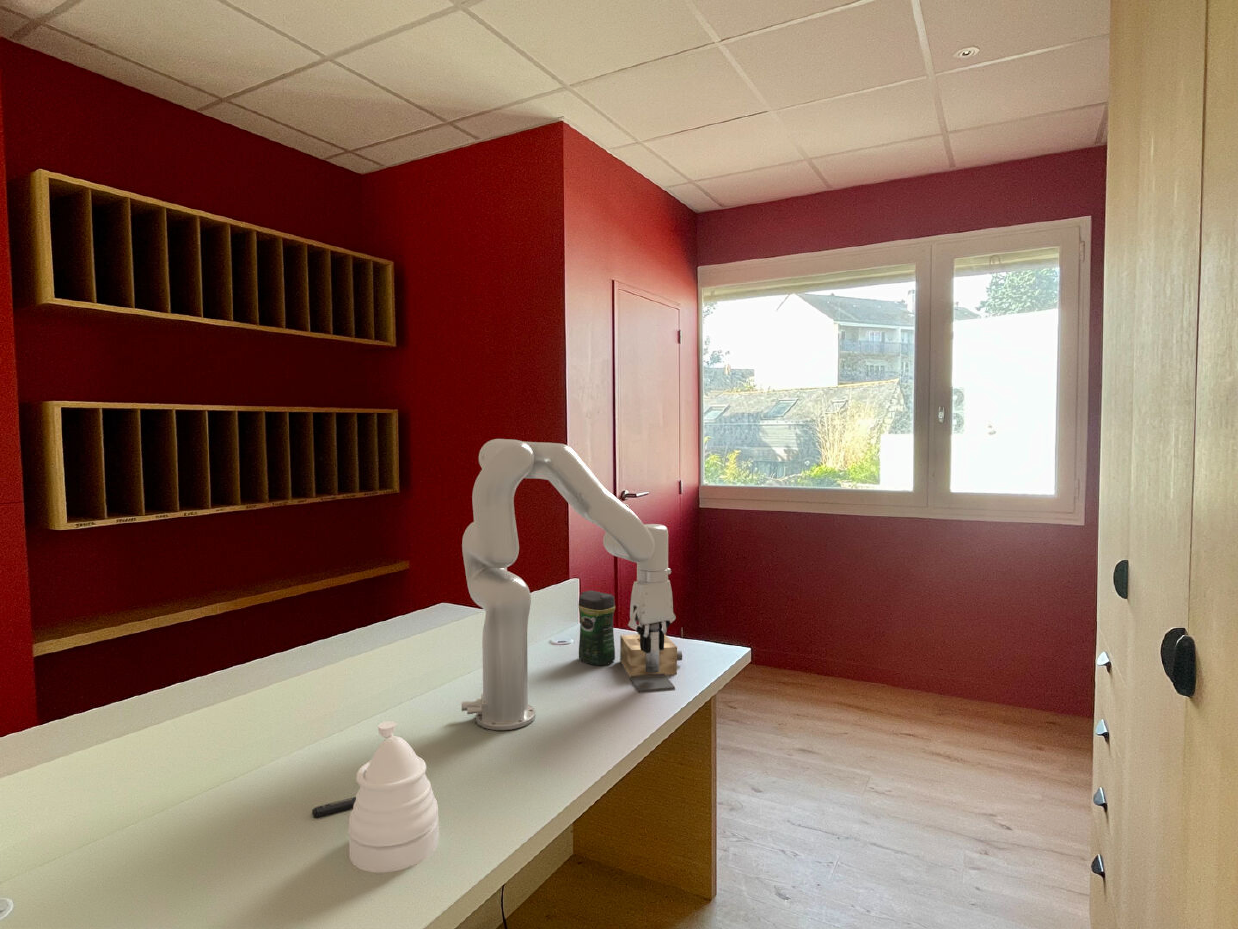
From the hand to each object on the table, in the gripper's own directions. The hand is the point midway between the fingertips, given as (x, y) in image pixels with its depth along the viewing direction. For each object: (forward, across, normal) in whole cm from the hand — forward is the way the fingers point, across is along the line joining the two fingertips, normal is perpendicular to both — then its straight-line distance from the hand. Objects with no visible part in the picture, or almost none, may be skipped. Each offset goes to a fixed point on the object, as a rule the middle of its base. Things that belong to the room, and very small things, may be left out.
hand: (652, 649), depth 167 cm
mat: (+9, 0, 0) cm, 9 cm away
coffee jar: (+9, +3, -21) cm, 23 cm away
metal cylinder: (+5, 0, 0) cm, 5 cm away
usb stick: (+9, +74, +16) cm, 77 cm away
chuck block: (+9, -7, -9) cm, 14 cm away
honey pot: (+9, +70, +31) cm, 77 cm away
